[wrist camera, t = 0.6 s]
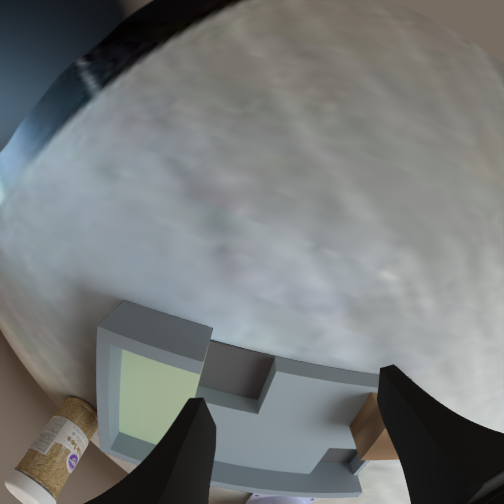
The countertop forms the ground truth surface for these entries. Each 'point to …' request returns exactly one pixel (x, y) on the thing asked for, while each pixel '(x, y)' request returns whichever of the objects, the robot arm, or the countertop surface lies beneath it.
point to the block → (371, 433)
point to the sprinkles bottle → (53, 454)
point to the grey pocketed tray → (229, 405)
